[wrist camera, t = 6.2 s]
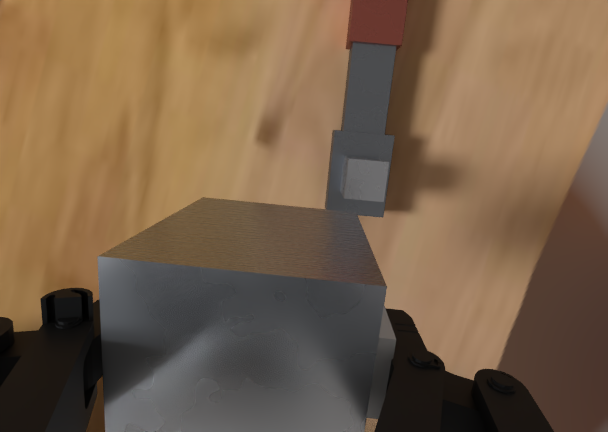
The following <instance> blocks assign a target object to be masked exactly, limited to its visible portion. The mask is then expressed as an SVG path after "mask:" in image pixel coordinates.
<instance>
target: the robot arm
mask: <svg viewBox="0 0 608 432" xmlns="http://www.w3.org/2000/svg"><path fill="white" fill-rule="evenodd" d="M41 309H42V321H43V325H42V326H41V328H40V329H39V330H38V331H25V332H14V330H13V321H12V320H10V319H9V318H4V317H0V432H86V429H87V426H88V423H89V419H90V416H91V413H92V410H93V406H94V403H95V400H96V397H97V381H98V380H99V379H100V378H101V376H102V375H103V367H102V344H101V321H100V299H99V300H97V301H96V302H94V303H93V294H92V292H91V291H90V290H88V289H84V288H67V289H61V290H57V291H53V292H51V293H49V294H46V295H45V296H44V297H42V298H41ZM366 418H374V419H378V422H377V425H376V429H375V432H554V431H553V429H552V428H551V426H550V424H549V423H548V421H547V420H546V418H545V416H544V415H543V413H542V412H541V410H540V409H539V407H538V405H537V404H536V402H535V401H534V399H533V397H532V396H531V394H530V393H529V391H528V390H527V388H526V387H525V386H524V385H523V384H522V383H521V382H520V381H518V380H517V379H515V378H514V377H513V376H511V375H509V374H506V373H505V372H502V371H497V370H493V369H482V370H479V371H478V372H477V373H476V374H475V377H474V381H473V380H470V379H467V378H463V377H460V376H457V375H454V374H452V373H449V372H447V371H445V366H444V363H443V361H442V360H441V359H440V358H439V357H438V356H436V355H435V354H433V353H431V352H429V351H427V349H426V347H425V345H424V343H423V341H422V338H421V336H420V334H419V333H418V330H417V328H416V327H415V324H414V322H413V320H412V318H411V317H410V316H409V315H408V314H407V313H405V312H404V311H403V310H395V309H385V306H384V308H383V315H382V321H381V327H380V334H379V340H378V347H377V353H376V359H375V366H374V372H373V379H372V385H371V392H370V398H369V404H368V411H367V417H366Z"/></svg>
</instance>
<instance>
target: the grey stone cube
mask: <svg viewBox="0 0 608 432" xmlns="http://www.w3.org/2000/svg"><path fill="white" fill-rule="evenodd" d="M98 275H99V298H100V321H101V344H102V367H103V390H104V413H105V432H364V430H365V424H366V417H367V411H368V404H369V398H370V392H371V385H372V379H373V372H374V366H375V359H376V353H377V347H378V340H379V334H380V327H381V321H382V315H383V308H384V302H385V295H386V289H387V286H386V283H385V281H384V278H383V276H382V274H381V271H380V269H379V266H378V264H377V262H376V259H375V257H374V254H373V252H372V250H371V247H370V245H369V242H368V240H367V237H366V235H365V233H364V230H363V228H362V225H361V223H360V221H359V218H358V216H357V213H356V212H346V211H336V210H326V209H316V208H306V207H295V206H285V205H275V204H265V203H255V202H245V201H235V200H225V199H215V198H205V197H203V198H201V199H199V200H197V201H195V202H194V203H192V204H190V205H188V206H187V207H185V208H183V209H181V210H179V211H178V212H176V213H174V214H172V215H170V216H169V217H167V218H165V219H163V220H162V221H160V222H158V223H156V224H154V225H153V226H151V227H149V228H147V229H145V230H144V231H142V232H140V233H138V234H137V235H135V236H133V237H131V238H129V239H128V240H126V241H124V242H122V243H120V244H119V245H117V246H115V247H113V248H112V249H110V250H108V251H106V252H104V253H103V254H101V255H99V256H98Z"/></svg>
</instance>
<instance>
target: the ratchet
mask: <svg viewBox="0 0 608 432" xmlns="http://www.w3.org/2000/svg"><path fill="white" fill-rule="evenodd" d="M407 3H408V0H351V5H350V15H349V24H348V34H347V43H346V49H350V53H349V62H348V71H347V80H346V90H345V99H344V108H343V117H342V126H341V131H338V130H333V133H332V143H331V153H330V162H329V172H328V182H327V191H326V201H325V208H326V210H336V211H346V212H356V213H357V215H362V216H373V217H383V215H384V208H385V201H386V194H387V187H388V180H389V173H390V165H391V158H392V151H393V144H394V137H395V136H393V135H385V128H386V120H387V113H388V105H389V98H390V90H391V83H392V75H393V68H394V61H395V53H396V51H397V50H398V49H399V48H400V47H401V46H402V40H403V32H404V25H405V18H406V10H407Z"/></svg>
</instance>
